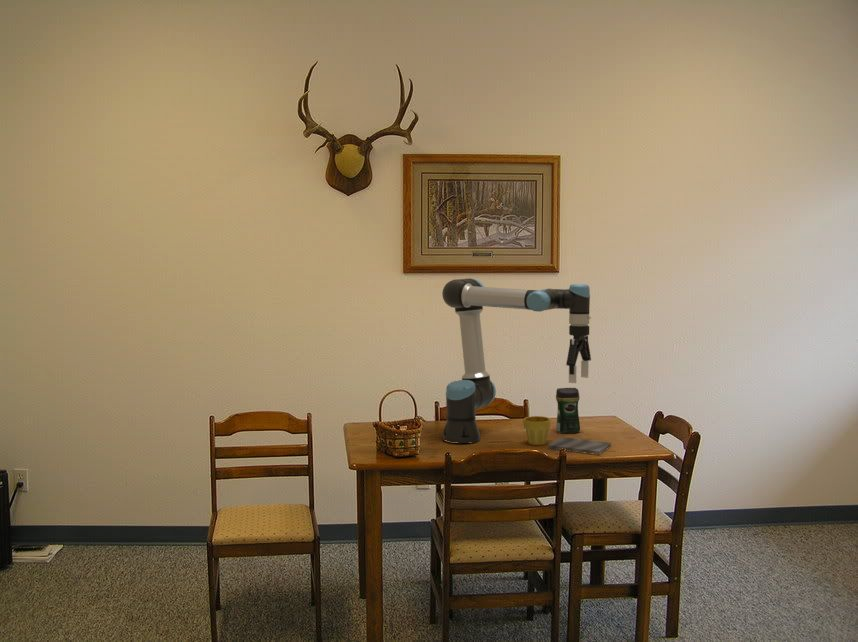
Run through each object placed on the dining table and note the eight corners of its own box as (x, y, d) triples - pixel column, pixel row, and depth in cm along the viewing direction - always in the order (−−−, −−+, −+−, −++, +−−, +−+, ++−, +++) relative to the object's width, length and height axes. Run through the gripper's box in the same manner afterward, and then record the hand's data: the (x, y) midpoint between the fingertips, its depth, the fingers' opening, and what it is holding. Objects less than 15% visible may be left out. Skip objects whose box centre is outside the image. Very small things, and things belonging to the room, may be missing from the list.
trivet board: (547, 448, 274) (547, 445, 274) (561, 440, 286) (561, 436, 286) (599, 455, 264) (599, 451, 263) (610, 446, 275) (610, 442, 275)
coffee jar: (576, 429, 304) (576, 385, 303) (581, 433, 297) (581, 389, 295) (554, 430, 304) (553, 386, 302) (558, 434, 296) (558, 390, 294)
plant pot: (523, 446, 278) (523, 421, 278) (523, 439, 289) (523, 415, 288) (550, 446, 277) (550, 421, 276) (550, 440, 287) (549, 416, 286)
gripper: (577, 328, 261) (576, 386, 263) (599, 322, 282) (598, 376, 284) (557, 327, 265) (557, 384, 267) (580, 321, 286) (580, 374, 288)
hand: (578, 380), depth 275 cm, fingers open, 13 cm apart
